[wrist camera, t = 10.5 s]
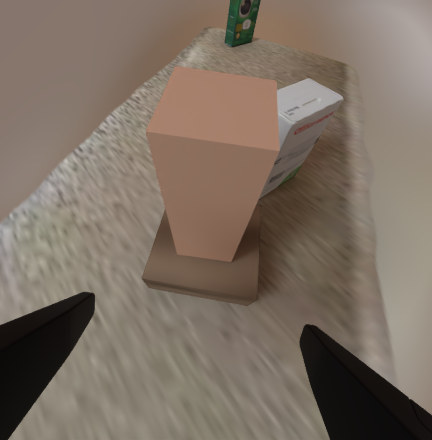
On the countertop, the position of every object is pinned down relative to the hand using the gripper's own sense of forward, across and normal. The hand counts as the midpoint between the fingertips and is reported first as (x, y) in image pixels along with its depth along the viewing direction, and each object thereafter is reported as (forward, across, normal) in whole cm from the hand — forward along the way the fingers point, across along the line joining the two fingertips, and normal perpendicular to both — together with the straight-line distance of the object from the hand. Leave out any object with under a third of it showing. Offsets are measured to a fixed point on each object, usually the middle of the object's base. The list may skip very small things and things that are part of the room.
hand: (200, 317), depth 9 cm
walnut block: (+14, 0, +3) cm, 15 cm away
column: (+12, 0, 0) cm, 12 cm away
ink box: (+23, -7, -6) cm, 25 cm away
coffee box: (+56, 0, -39) cm, 68 cm away
